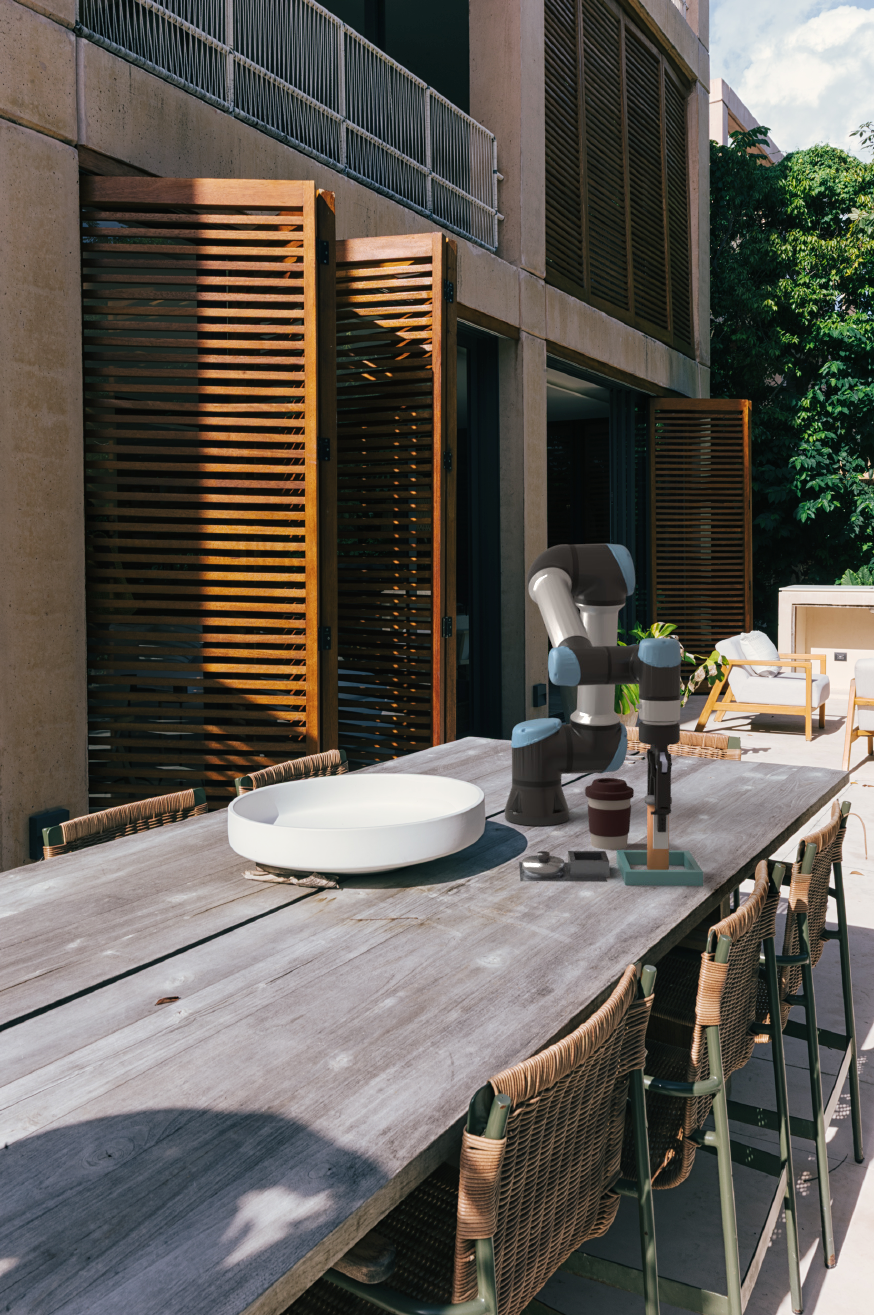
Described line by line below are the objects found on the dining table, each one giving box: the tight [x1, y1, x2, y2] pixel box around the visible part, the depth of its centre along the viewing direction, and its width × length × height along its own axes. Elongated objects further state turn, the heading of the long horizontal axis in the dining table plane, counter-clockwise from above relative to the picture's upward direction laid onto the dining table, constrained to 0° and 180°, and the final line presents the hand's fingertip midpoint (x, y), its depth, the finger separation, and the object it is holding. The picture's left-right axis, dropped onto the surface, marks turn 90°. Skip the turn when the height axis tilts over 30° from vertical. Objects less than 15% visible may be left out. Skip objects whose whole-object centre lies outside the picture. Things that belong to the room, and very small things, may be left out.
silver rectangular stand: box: [518, 850, 610, 883], centre depth 194 cm, size 12×17×5 cm
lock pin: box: [644, 795, 673, 870], centre depth 191 cm, size 5×5×15 cm
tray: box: [615, 849, 704, 887], centre depth 192 cm, size 14×14×4 cm
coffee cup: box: [584, 777, 635, 851], centre depth 212 cm, size 10×10×15 cm
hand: (658, 843), depth 191 cm, fingers open, 5 cm apart
